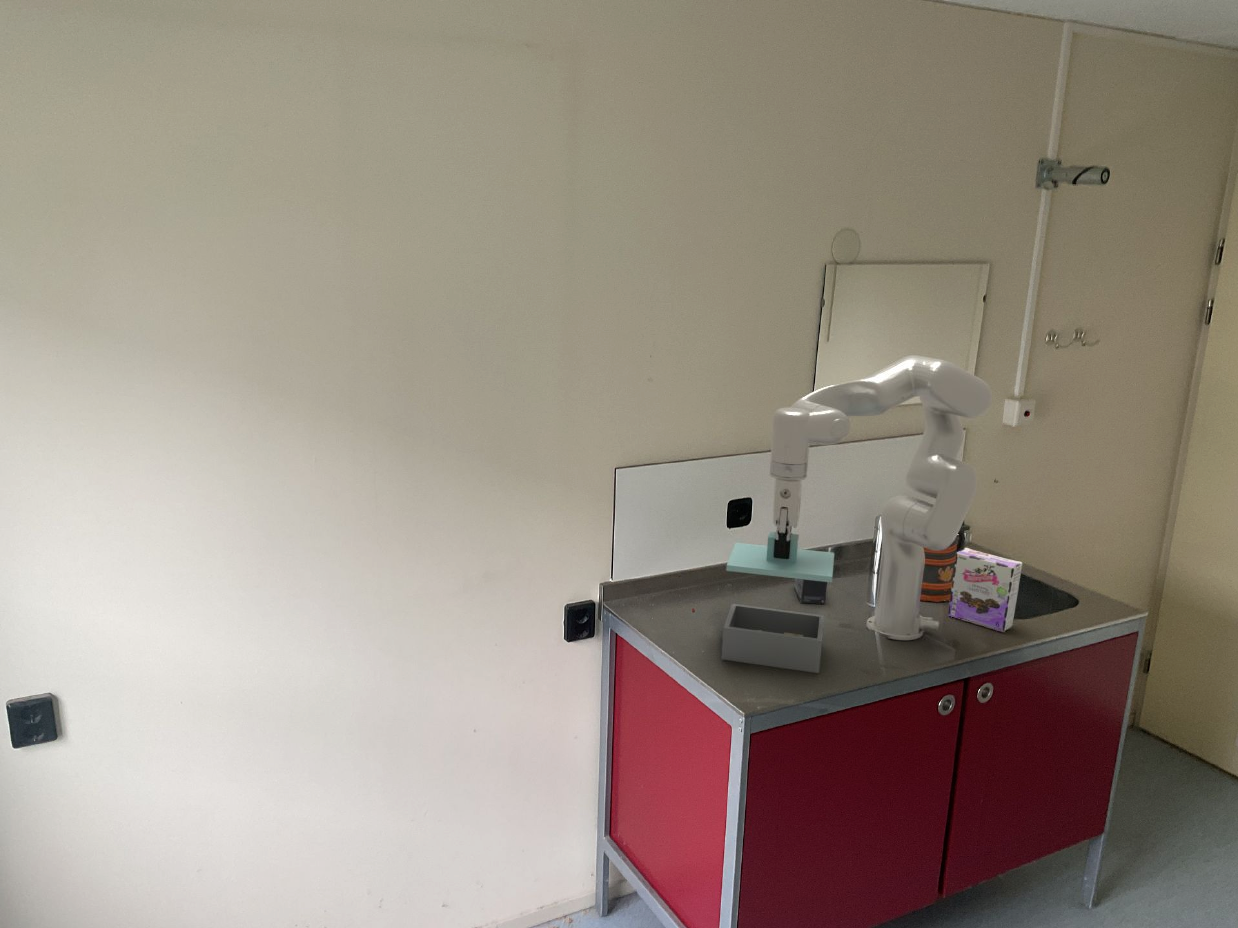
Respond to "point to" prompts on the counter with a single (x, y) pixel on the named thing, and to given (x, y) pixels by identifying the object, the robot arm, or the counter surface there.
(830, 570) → the lid
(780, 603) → the counter surface
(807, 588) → the small box
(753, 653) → the tub
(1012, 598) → the candy box
